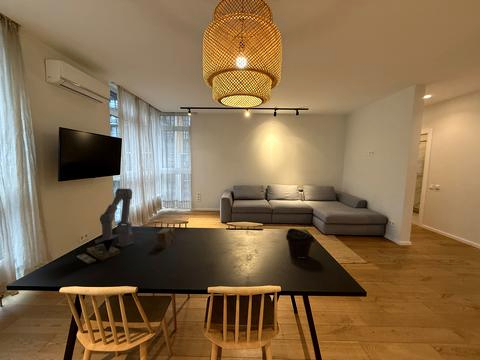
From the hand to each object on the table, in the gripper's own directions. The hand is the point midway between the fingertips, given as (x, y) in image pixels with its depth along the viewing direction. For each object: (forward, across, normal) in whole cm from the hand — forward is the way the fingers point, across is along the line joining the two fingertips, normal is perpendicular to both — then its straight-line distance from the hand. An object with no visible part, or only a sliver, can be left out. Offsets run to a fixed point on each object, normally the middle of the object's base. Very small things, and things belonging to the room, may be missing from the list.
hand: (107, 250), depth 147 cm
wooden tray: (+4, 0, +6) cm, 8 cm away
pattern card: (+4, -10, +6) cm, 13 cm away
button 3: (+3, 0, 0) cm, 3 cm away
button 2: (+1, 0, +6) cm, 7 cm away
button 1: (+3, 0, +13) cm, 13 cm away
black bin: (+4, +79, -109) cm, 135 cm away
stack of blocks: (+4, +38, -14) cm, 41 cm away
